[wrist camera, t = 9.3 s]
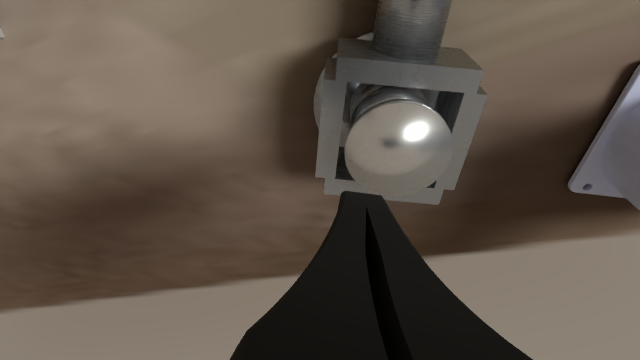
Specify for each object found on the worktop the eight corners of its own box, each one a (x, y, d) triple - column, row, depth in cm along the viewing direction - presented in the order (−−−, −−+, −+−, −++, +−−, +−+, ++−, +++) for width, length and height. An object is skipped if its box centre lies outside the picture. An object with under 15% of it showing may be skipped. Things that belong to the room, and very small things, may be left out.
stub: (481, 38, 18) (528, 73, 13) (435, 171, 22) (459, 232, 18) (321, 19, 18) (314, 47, 13) (308, 157, 22) (299, 214, 18)
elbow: (433, 167, 22) (448, 205, 19) (317, 156, 22) (313, 193, 19) (521, -123, 14) (571, -139, 11) (343, -140, 14) (344, -161, 11)
